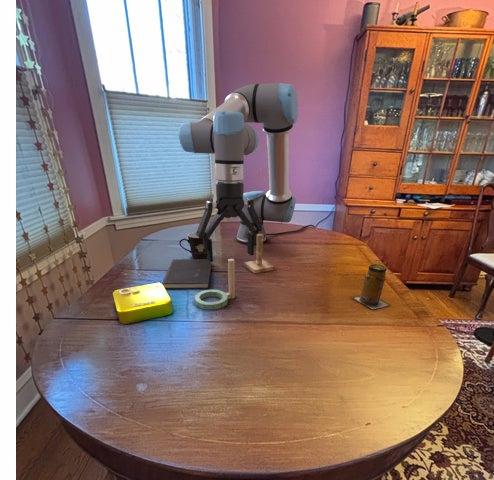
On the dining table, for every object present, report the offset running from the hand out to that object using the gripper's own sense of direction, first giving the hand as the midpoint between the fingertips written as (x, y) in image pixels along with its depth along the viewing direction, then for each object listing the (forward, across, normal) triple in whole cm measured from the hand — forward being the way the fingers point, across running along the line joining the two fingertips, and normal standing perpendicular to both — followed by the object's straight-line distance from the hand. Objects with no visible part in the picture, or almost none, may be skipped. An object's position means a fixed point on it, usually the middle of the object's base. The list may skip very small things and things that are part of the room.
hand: (230, 257), depth 91 cm
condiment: (+14, +40, -23) cm, 48 cm away
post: (+14, +21, +19) cm, 32 cm away
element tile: (+14, -27, +5) cm, 31 cm away
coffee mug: (+14, +2, +41) cm, 43 cm away
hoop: (+14, -6, 0) cm, 15 cm away
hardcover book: (+14, -7, +23) cm, 28 cm away
